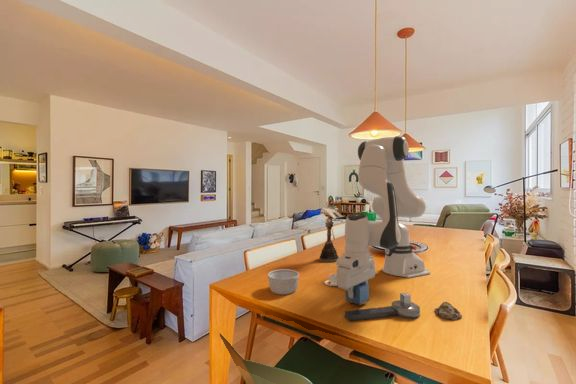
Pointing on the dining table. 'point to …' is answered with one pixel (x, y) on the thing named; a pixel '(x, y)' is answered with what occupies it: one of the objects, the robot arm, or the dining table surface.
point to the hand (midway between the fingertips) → (357, 294)
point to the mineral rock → (448, 311)
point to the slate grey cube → (359, 293)
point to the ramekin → (283, 281)
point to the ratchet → (387, 310)
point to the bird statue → (328, 249)
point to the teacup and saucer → (332, 280)
